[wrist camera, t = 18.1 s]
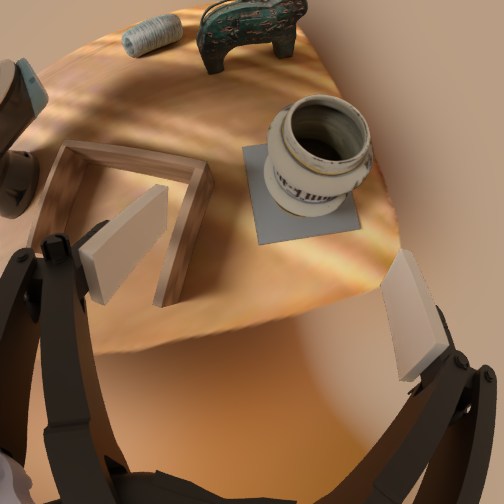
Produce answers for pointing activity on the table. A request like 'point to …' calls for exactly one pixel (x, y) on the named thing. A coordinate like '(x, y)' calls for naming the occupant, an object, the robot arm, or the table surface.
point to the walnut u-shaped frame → (140, 161)
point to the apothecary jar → (316, 155)
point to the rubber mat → (281, 223)
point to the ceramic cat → (248, 28)
